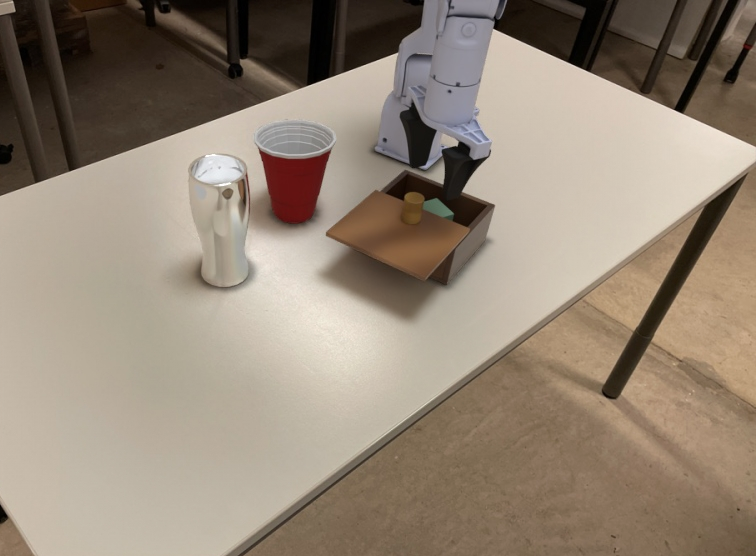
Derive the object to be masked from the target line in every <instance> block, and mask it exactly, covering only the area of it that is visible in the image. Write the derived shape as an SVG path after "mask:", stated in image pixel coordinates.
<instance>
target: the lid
mask: <svg viewBox="0 0 756 556" xmlns="http://www.w3.org/2000/svg"><path fill="white" fill-rule="evenodd" d="M380 191H381V190H378V189H374V190H373V192H371V193H369V195H368V196H367V197H365V198H364V199H363V200H362V201H361V202H359V203H358V204H357V205H356V206H354V207H353V208H352V209H351V210H350V211H349V212H348V213H346V214H345V215H344V216H343V217H342V218H341V219H340V220H338V221H337V222H336V223H335V224H333V226H331V227H330V228H329V229H328V230H327V231H326V232H325V237H327V238H329V239H331V240H334V241H335V242H338V243H340V244H343V245H345V246H347V247H349V248H351V249H352V250H353V249H354V250H356V251H358V252H360V253H362V254H364V255H367V256H369V257H371V258H373V259H375V260H377V261H379V262H382V263H383V264H386V265H388V266H390V267H392V268H395V269H397V270H399V271H400V272H403V273H406V274H407V275H410V276H412V277H414V278H416V279H418V280H421V281H423V282H426V281H427V279H428V278H430V277H429V276H430V275H431V274H432V272H433V271H434V270H435V269H436V268H437V267H438V266H439V265H440V264H441V263H442V261H443V260H444V259H445V258H446V257H447V256H448V255H449V254H450V253H451V252H452V251H453V249H454V248H455V247H456V246H457V245H458V244H459V243H460V242H461V241H462V240H463V238H464V237H465V236H466V235H467V234H468V233H469V231H470V228H467V227H465V226H462V225H460V224H458V223H455V222H453V221H450V220H448V219H446V218H443V217H441V216H438V215H436V214H434V213H431V212H429V211H426V210H424V209H423V204H424V196H423V195H421V194H420V193H416V192H410V193H407V194H406V195H405V198H404V201H402V200H400V199H397V198H395V197H393V196H390V195H388V194H385V193H383V192H380Z"/></svg>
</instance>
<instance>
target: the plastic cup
mask: <svg viewBox="0 0 756 556" xmlns="http://www.w3.org/2000/svg"><path fill="white" fill-rule="evenodd" d="M336 143H337V135H336V132H335V131H334V130H333V129H332V128H330V126H327V125H325V124H322V123H320V122H318V121H313V120H307V119H281V120H275V121H271V122H268V123H266V124H264V125H261V126H260V127H258V128H257V129H256V130H255V132H254V133H253V144H254V145H255V146H256V147H257V149H258V153H259V155H260V160H261V162H262V166H263V167H262V168H263V172H264V177H265V181H266V186H267V191H268V195H269V198H270V205H271V210H272V212H273V215H274V216H275V217H276V219H278V220H280V221H281V222H283V223H288V224H301V223H305V222H307V221H309V220H310V219H312V217H313V216H314V213H315V211H316V207H317V203H318V199H319V196H320V193H321V191H322V185H323V181H324V177H325V173H326V169H327V165H328V162H329V159H330V155H331V153H332V150H333V147H334V146H335V145H336Z"/></svg>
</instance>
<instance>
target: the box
mask: <svg viewBox="0 0 756 556" xmlns="http://www.w3.org/2000/svg"><path fill="white" fill-rule="evenodd" d="M379 191H380V192H383V193H385V194H388V195H390V196H393V197H395V198H397V199H400V200H402V201H404V198H405V195H406V194H407V193H410V192H416V193H420V194H421V195H423V196H424V202H425V201H428V200H432V199H435V198H437V199H438V200H439V201H440V202H442V203H443V204H444V205H445V206H446V207H447V208H448V209H449V210H450V211H451V212H453V213H454V216H453V222H455V223H458V224H460V225H462V226H465V227H467V228H470V231H469V233H468V234H467V235H466V236H465V237H464V238H463V240H462V241H461V242H460V243H459V244H458V245H457V246H456V247H455V248H454V249H453V251H452V252H451V253H450V254H449V255H448V256H447V257H446V258H445V259H444V260H443V261H442V263H441V264H440V265H439V266H438V267H437V268H436V269H435V270H434V271H433V272H432V274H431V275H430V276H429V277H428V278H430V279H433V280H435V281H437V282H439V283H441V284H444V285H445V286H447V285H448V284H449V283H450V282H451V281H452V279H454V277H455V276H456V275H457V274H458V272H459V271H460V270H461V269H462V268H463V267H464V266H465V264H466V263H467V262H468V261H469V260H470V259H471V258H472V256H473V255H475V254H476V252H477V251H478V250H479V248H480V247H481V246H482V245H483V244H484V243H485V241H486V239H487V236H488V232H489V228H490V225H491V222H492V218H493V215H494V211H495V208H496V204H495V203H492V202H489V201H487V200H484V199H481V198H479V197H476V196H473V195H471V194H468V193H467V192H463V191H462V193H461V194H460V196H459V197H458V198H455V199H451V200H447V201H446V200H445V199H444V198H443V195H442V191H443V183H441V182H438V181H435V180H433V179H431V178H428V177H425V176H423V175H420V174H417V173H416V172H413V171H410V170H408V169H404V170H403V171H401V172H400V173H399V174H398V175H397V176H396V177H395V178H393V179H392V180H391V181H390V182H389V183H388V184H387V185H386V186H384V187H382V189H380V190H379Z"/></svg>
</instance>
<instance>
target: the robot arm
mask: <svg viewBox="0 0 756 556" xmlns="http://www.w3.org/2000/svg"><path fill="white" fill-rule="evenodd" d="M423 1H424V2H423V8H422V16H421V24H420V27H419V28H417V29H416V30H414V31H413V32H412V33H410V34H408V35H407V36H405V37H404V38H403V39H402V40H401V42H400V44H399V46H398V51H397V55H396V59H395V60H396V61H395V67H394V75H393V87H392V88H393V89H392V90H391V91H390V93H389V94H388V95H387V97H386V98H385V100H384V103H383V106H382V109H381V114H380V122H379V129H378V130H379V131H378V136H377V143H376V144H377V145H376V146H374V151H375V152H377V153H380V154H382V155H384V156H388V157H390V158H393V159H395V160H398V161H400V162H402V163H406V164H408V165H409V167H410V168H411V169H413V170H414V169H421V170H424V171H427V170H428V169H429V168H430V167H432V166H433V164H435V163H436V162H437V161H438V160H439V159H441V157H442V160H443V166H444V176H443V183H442V184H443V191H442V195H443V198H444V199H445V200H446V201H447V200H451V199H455V198H458V197H459V196H460V194H461V193H462V192H463V191H464V189H465V187H466V186H467V184H468V182H469V181H470V179H471V177H472V176H473V175H474V174H475V172H476V171H477V170H478V169H479V167H480V166H481V165H482V164H483V163H485V161H486V160H487V159H489V158H490V157H491V154H492V148H491V147H492V143H493V140H492V139H491V138H489V137H488V135H487V134H486V133H485V131H484V129H483V128H482V126H481V124H480V122H479V120H478V118H477V117H478V116H479V114H480V108H479V107H477V106H476V103H477V100H478V96H479V91H480V86H481V82H482V77H483V73H484V68H485V65H486V61H487V56H488V52H489V48H490V44H491V40H492V39H491V38H492V36H493V30H494V26H495V23H496V22H495V21H496V20H500V19H501V18H502V17H503V13H504V11H505V8H506V5H507V1H508V0H423ZM494 17H495V18H494ZM495 19H496V20H495ZM443 134H444V135H446V136H449V137H451V138H453V139H454V140H456V141H457V145H454V146H447V145H444V144H442V143H441V142H442V137H443Z"/></svg>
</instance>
